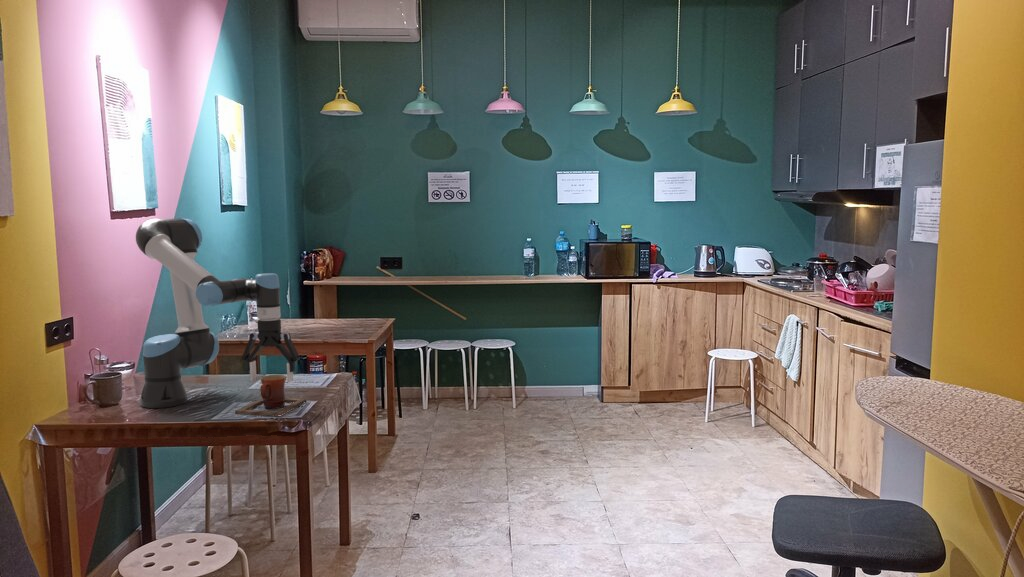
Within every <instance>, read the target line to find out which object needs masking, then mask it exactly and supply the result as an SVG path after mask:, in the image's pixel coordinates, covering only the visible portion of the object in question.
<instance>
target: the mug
mask: <svg viewBox="0 0 1024 577" xmlns="http://www.w3.org/2000/svg"><path fill="white" fill-rule="evenodd" d="M259 381H260V383H261V385H260V391H259V392H260V397H261V398H263V403H262V404H263V407H264V408H266V409H269V408H271V409H273V408H275V409H280V408H282V407H284V406H285V405H286V402H285V398H286V390H285V389H286V388H285V385H286V381H287V375H284V374H267V375H264V376H261V377H259ZM279 407H280V408H279Z"/></svg>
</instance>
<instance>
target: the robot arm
mask: <svg viewBox="0 0 1024 577" xmlns="http://www.w3.org/2000/svg"><path fill="white" fill-rule="evenodd" d="M202 241H203V234H202V231H201V229H200V227H199V225H198V224H197V222H194V221H193V220H191V219H189V218H181V217H179V218H175V217H174V218H152V219H148V220H145V221H144V222H142V223H141V224H140V225H139V226H138V228H137V230H136V233H135V242H136V245H137V247H138V248H139V250H140V252H142V254H144V255H146V257H148V258H149V259H151V260H156V261H158V262H159V263H160V264H161V265H162V266H164V267H165V268H166V269H167V270H169V274H170V281H171V288H172V293H173V300H174V306H175V312H176V319H177V324H178V326H177V329H176V330H175V332H174V333H166V334H158V335H155V336H152V337H149V338H147V339H146V340H145V341H144V343H143V345H142V346H143V349H142V351H143V352H142V356H143V369H144V370H143V371H144V373H143V374H144V384H143V387H142V391H141V396H140V398H139V403H140V404H139V405H140V407H142V408H147V409H148V408H149V409H163V408H171V407H175V406H181V405H184V404H185V403H187V402H188V397H189V395H188V392H187V389H186V388H185V385H184V383H183V380H182V370H186V369H190V368H191V369H192V368H196V367H200V366H202V367H203V366H204V365H205V366H206V365H209V364H210V363H212V362H213V361H215V360H216V357H217V356H218V354H219V351H220V342H219V339H218V336H216V334H215V333H214V332H212V331H210V327H209V325H207V324H205V322H204V321H205V320H204V314H203V309H202V308H203V307H202V306H206V307H207V306H213V307H214V306H218V305H224V304H225V305H226V304H232V303H239V302H247V301H249V302H250V301H251V302H256V313H257V315H256V316H257V319H258V320H257V331H258V333H256V332H252V333H249V336H248V338H249V339H248V342H247V344H246V346H245V349H244V351H243V354H242V356H241V360H244V361H246V362H247V371H248V372H249V377H250V378H249V379H250V380H249V381H250V382H254V381H256V380H257V361H256V360H255V358H256V357H257V356H258V355H259V353H260V352H261V350H262V349H263V348H264V347H266V348H267V347H271V348H274V347H275V348H276V349H277V350H278V351H279V352H280V353H281V355H283V357H284V358H285V359H286V360H287V363H286V376H287V378H286V381H287V383H291V382H292V381H294V372H295V371H296V362H298V361H300V360H301V357H300V355H299V353H298V351H297V349H296V347H295V345H294V342H293V341H292V338H291V333H290V332H287V333H283V334H282V320H281V319H280V318H281V317H282V316H281V315H282V314H281V298H280V297H281V296H280V286H281V285H280V279H279V275H278V274H276V273H273V272H271V273H270V272H269V273H268V272H267V273H265V272H264V273H257V274H256V275H255V278H245V277H242V278H241V277H239V278H234V279H232V280H231V279H230V280H220V279H218V278H217V277H215V276H214V275H213V274H212V273H210V272H209V271H208V270H207V269H206V268H204V267H203V266H201V265H200V264H199V263H198V262H196V261H195V258H196V256H198V249H199V248H200V247H202V246H201V245H202V243H203V242H202ZM257 340H259V341H258V343H257V345H256V346H255V343H256V341H257ZM282 340H283V341H284V343H283V342H282ZM284 344H285V345H284ZM254 346H255V348H254ZM253 348H254V349H253Z"/></svg>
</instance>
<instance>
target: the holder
mask: <svg viewBox="0 0 1024 577" xmlns="http://www.w3.org/2000/svg"><path fill="white" fill-rule="evenodd" d="M289 402H292V403H289ZM293 402H294V403H293ZM304 402H305V403H306V402H307V398H296V397H295V398H294V397H293V398H291V397H285V403H289V404H288V405H287V406H285V407H283V408H281V409H279V410H276V411H275V410H257V409H253V408H256V407H258V406H260V405H262V404H263V398H262V397H261V398H259V399H257V400H255V401H252V402H251V403H249V404H246V405H245V406H242V407H241V408H238V409H235V411H234V413H236V414H235V415H248V414H250V415H251V416H265V415H274V416H273V417H279V416H278V415H282V414H283V415H285V414H287V413H288V412H287V411H289V410H291V409H292V410H294V409H296V408H298V407H300V406H301V405H303V404H305V403H304ZM299 405H300V406H299ZM297 406H298V407H297ZM295 407H296V408H295ZM293 408H294V409H293ZM292 410H291V411H292ZM286 412H287V413H286ZM289 412H290V411H289ZM284 413H285V414H284ZM250 415H249V416H250ZM275 415H277V416H275ZM283 415H282V416H283Z"/></svg>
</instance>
